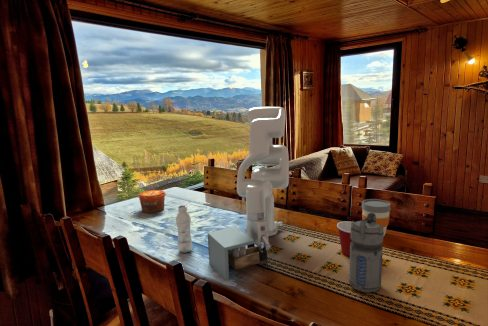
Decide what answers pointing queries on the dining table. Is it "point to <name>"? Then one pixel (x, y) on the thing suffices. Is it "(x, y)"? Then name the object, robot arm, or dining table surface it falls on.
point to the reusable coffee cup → (377, 211)
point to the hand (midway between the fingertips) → (257, 255)
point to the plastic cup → (345, 236)
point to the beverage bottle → (366, 254)
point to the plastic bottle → (183, 230)
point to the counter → (225, 247)
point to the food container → (152, 201)
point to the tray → (244, 257)
